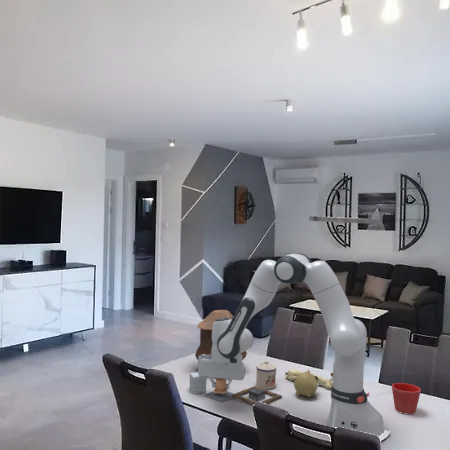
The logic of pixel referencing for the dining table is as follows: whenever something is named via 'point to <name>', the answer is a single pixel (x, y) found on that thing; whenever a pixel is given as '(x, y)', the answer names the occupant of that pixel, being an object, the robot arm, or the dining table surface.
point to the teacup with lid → (265, 375)
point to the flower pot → (405, 397)
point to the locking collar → (247, 400)
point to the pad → (219, 396)
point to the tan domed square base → (220, 386)
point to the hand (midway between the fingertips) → (220, 387)
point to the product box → (197, 383)
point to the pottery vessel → (207, 332)
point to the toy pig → (306, 384)
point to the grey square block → (257, 394)
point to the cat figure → (295, 373)
